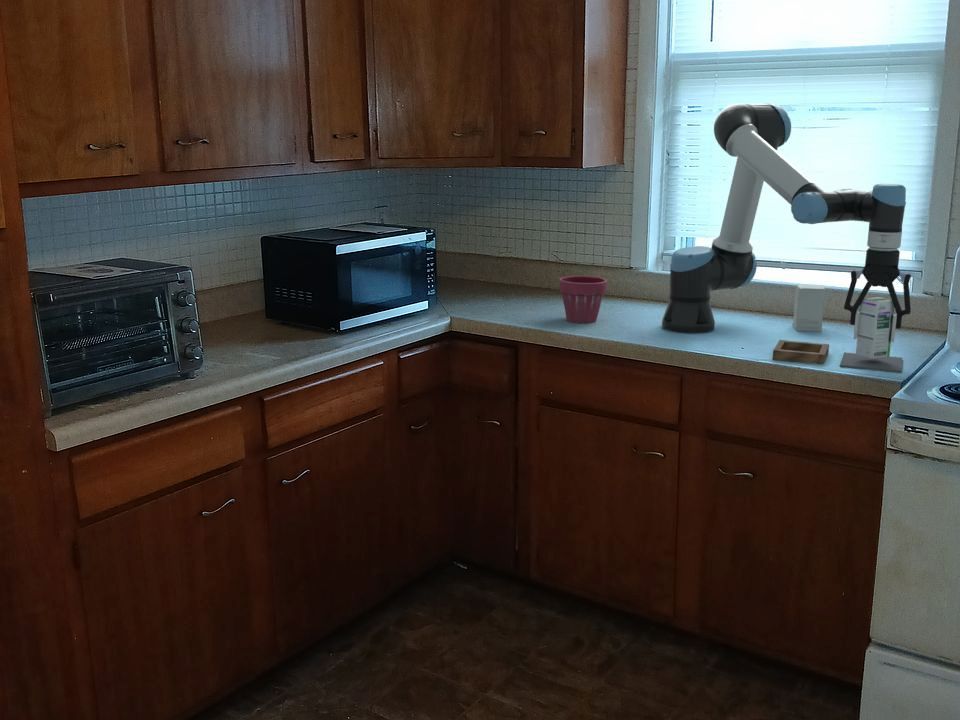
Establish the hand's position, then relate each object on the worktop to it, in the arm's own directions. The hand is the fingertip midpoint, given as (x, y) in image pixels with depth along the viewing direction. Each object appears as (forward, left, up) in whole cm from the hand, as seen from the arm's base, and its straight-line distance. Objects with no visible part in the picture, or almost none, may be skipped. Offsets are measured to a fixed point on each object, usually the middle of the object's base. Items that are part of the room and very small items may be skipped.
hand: (873, 339), depth 235 cm
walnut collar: (-17, 0, -6) cm, 18 cm away
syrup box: (0, 0, -4) cm, 4 cm away
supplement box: (-19, +35, -6) cm, 40 cm away
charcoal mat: (0, 0, -6) cm, 6 cm away
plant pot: (-83, +20, -6) cm, 86 cm away
